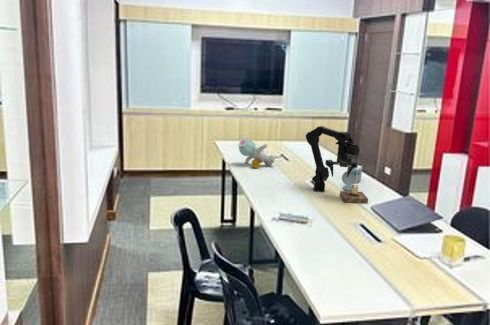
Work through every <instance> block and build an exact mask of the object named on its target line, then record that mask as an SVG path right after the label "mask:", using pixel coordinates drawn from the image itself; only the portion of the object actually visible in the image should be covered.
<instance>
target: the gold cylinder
mask: <svg viewBox="0 0 490 325" xmlns="http://www.w3.org/2000/svg"><path fill="white" fill-rule="evenodd" d="M351 186H352V187H351V196H357V193H358V192H359V185H357V184H353V185H351Z"/></svg>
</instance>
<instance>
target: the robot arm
mask: <svg viewBox="0 0 490 325" xmlns="http://www.w3.org/2000/svg"><path fill="white" fill-rule="evenodd" d="M322 134H323V135H326V136H329V137H330V138H333V139H335V140H336V141H337V142H335V145H338V146H337V147H338V148H337V154H336V155H337V157H336V161H334V160H332V159H326V160H325V163H324V160H323V157H322V154H321V149H320V145H319V143H320V136H322ZM305 140H306V141H307V143H308V145H310V147H311V151H312V156H313V159H314V163H315V175H314V176H313V177H311V179H312V182H313V187H312V189H313V191H314V192H325V190H326V189H325V188H326V183H325V182H327V180H328V178H329V177H330V173H331V177H332V178H334V167H335V165H336V166H339V167H340V168H347V169H346V170H347V171H346V172H347V177H348V176H349V174H350V172H351V170H352V169H354V168H355V167H357V165H358V163H357V162H356V161H355V160H352V158H348V155H351V156H355V157H356V156H358V155H359V154H360V152H361V150H360V147H359V144H356V143H355V144H354V141H353V139H352V137H351V133H350V132H348V131H338V130H335V129H331V128H330V127H329V128H328V127H325V126H323V125H321V126H317V127H316V128H315V129H312V130H311V131H308V132H306V134H305ZM326 166H327V167H326ZM329 170H330V171H329Z"/></svg>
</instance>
